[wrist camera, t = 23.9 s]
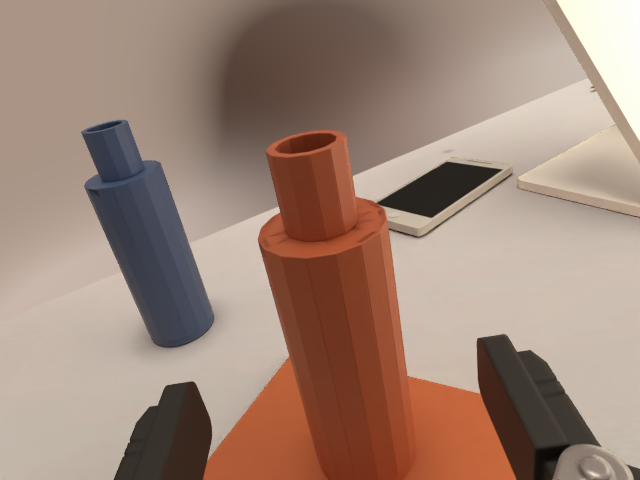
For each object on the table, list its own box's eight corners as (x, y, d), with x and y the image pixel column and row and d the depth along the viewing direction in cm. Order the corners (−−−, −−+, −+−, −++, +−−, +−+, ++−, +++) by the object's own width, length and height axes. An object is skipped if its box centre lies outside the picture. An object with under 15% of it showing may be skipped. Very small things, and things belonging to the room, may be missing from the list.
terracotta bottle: (341, 512, 20) (255, 182, 13) (305, 432, 24) (224, 146, 17) (435, 465, 21) (402, 137, 14) (386, 396, 25) (341, 114, 18)
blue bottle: (184, 353, 32) (96, 138, 25) (138, 339, 34) (47, 139, 27) (226, 312, 35) (159, 113, 29) (182, 302, 38) (110, 116, 31)
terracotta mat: (497, 645, 16) (497, 637, 15) (189, 493, 23) (186, 486, 22) (539, 415, 23) (539, 407, 23) (296, 354, 30) (295, 348, 30)
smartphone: (358, 220, 45) (357, 210, 44) (453, 163, 53) (452, 155, 53) (420, 238, 40) (419, 228, 39) (513, 172, 48) (514, 163, 48)
